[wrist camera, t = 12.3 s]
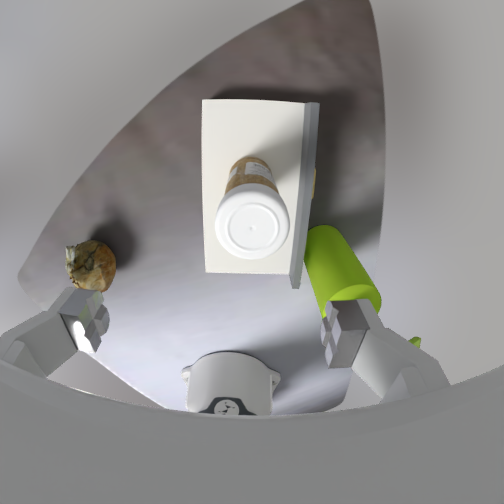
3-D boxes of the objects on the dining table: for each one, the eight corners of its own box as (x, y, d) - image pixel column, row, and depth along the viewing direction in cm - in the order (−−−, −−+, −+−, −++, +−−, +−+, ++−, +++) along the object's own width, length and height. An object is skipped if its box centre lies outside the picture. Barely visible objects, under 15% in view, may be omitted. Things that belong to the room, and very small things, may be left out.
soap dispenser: (353, 254, 36) (418, 369, 18) (306, 270, 37) (343, 397, 19) (345, 216, 33) (426, 324, 16) (295, 233, 34) (335, 359, 17)
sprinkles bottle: (220, 171, 27) (197, 218, 16) (257, 147, 26) (264, 175, 14) (245, 205, 29) (242, 274, 17) (281, 183, 28) (305, 238, 16)
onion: (73, 257, 36) (46, 286, 29) (91, 221, 33) (61, 248, 26) (109, 286, 38) (88, 320, 31) (131, 254, 35) (109, 287, 28)
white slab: (294, 262, 36) (301, 288, 31) (208, 259, 36) (202, 286, 31) (308, 105, 27) (322, 103, 21) (206, 101, 26) (196, 98, 21)
